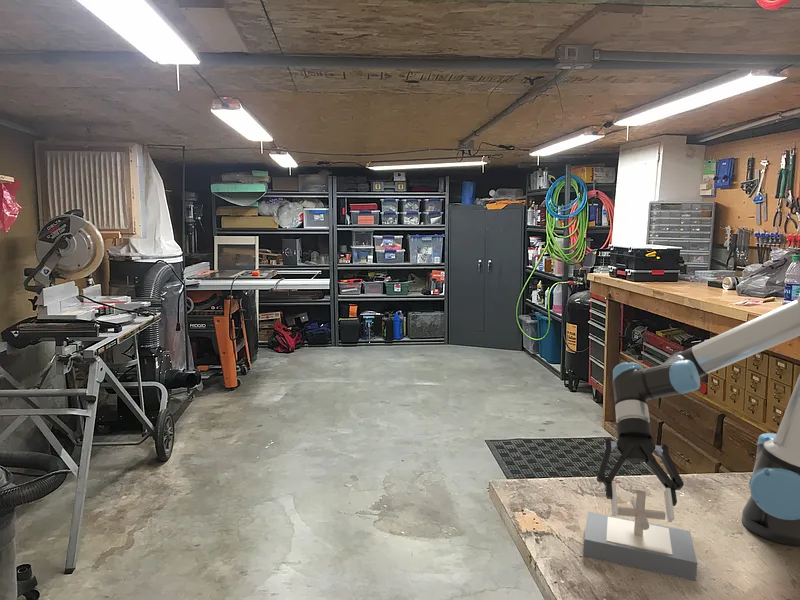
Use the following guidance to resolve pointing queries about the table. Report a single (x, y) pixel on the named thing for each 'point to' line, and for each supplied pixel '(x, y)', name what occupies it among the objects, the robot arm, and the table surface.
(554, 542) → the table surface
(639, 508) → the pipe connector
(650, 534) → the grey flat block
